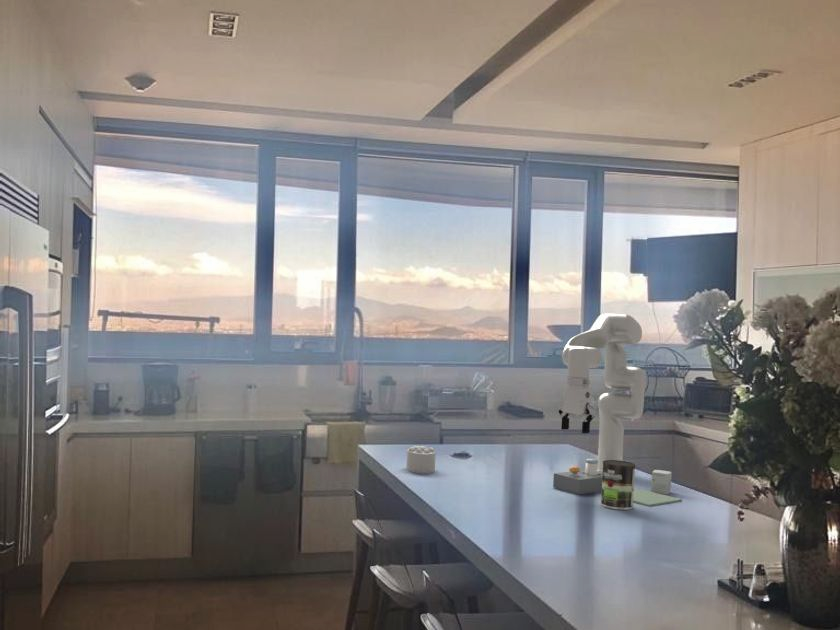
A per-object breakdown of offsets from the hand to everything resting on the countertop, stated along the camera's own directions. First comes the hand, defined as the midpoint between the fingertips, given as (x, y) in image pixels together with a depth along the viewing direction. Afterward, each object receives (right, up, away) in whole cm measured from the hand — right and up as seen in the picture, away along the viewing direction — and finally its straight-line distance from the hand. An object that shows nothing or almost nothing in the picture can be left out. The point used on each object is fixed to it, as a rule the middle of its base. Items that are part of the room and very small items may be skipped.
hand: (575, 431), depth 290 cm
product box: (+31, -22, +4) cm, 39 cm away
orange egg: (-1, -19, 0) cm, 19 cm away
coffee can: (+9, -21, -23) cm, 33 cm away
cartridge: (+6, -21, +5) cm, 23 cm away
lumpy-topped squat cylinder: (-54, -18, +23) cm, 62 cm away
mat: (+22, -22, -8) cm, 32 cm away
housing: (+3, -21, +3) cm, 21 cm away
